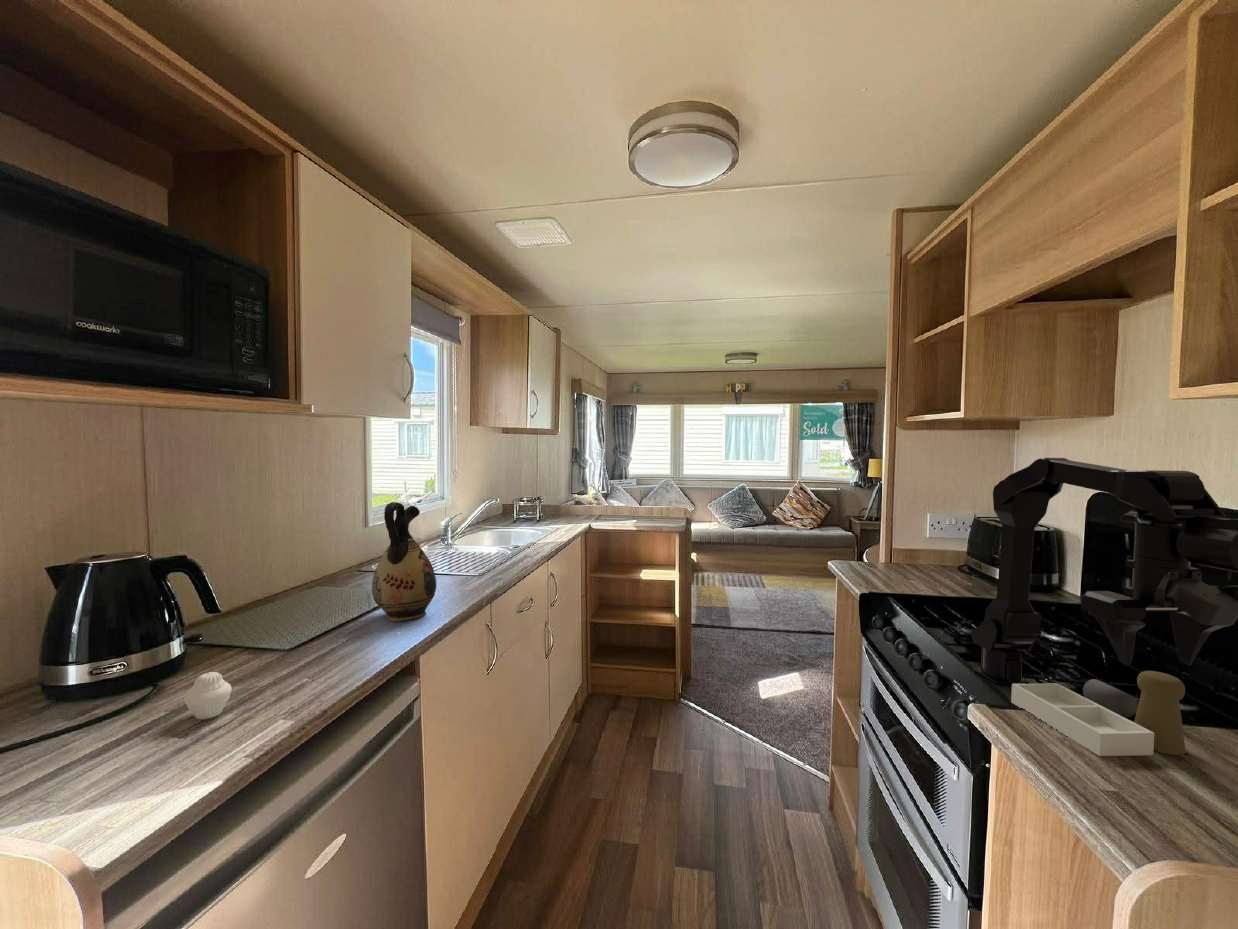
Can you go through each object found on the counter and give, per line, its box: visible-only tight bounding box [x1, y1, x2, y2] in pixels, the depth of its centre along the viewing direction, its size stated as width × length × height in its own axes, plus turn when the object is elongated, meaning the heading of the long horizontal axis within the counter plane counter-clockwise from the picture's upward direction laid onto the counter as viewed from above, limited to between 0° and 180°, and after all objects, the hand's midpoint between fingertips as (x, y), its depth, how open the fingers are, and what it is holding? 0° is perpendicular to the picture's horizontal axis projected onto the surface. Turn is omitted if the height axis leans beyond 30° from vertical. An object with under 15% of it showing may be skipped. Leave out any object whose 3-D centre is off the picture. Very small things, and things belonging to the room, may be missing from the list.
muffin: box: [183, 671, 232, 720], centre depth 86 cm, size 6×6×7 cm
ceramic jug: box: [371, 501, 437, 622], centre depth 135 cm, size 17×15×30 cm
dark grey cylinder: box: [1082, 678, 1139, 718], centre depth 93 cm, size 6×4×4 cm, turn 3°
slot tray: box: [1010, 682, 1154, 757], centre depth 86 cm, size 16×8×3 cm, turn 3°
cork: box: [1133, 670, 1187, 756], centre depth 81 cm, size 6×6×11 cm
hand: (1155, 664), depth 76 cm, fingers open, 9 cm apart
